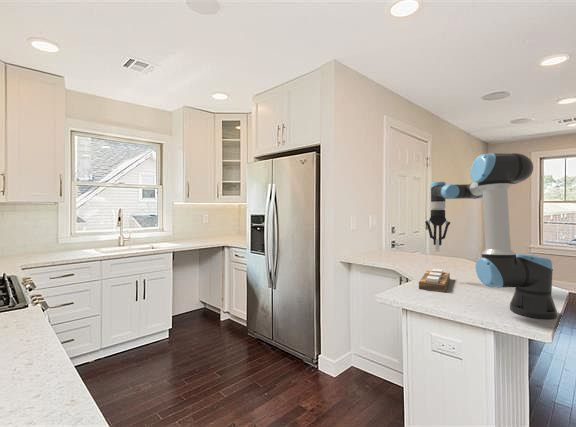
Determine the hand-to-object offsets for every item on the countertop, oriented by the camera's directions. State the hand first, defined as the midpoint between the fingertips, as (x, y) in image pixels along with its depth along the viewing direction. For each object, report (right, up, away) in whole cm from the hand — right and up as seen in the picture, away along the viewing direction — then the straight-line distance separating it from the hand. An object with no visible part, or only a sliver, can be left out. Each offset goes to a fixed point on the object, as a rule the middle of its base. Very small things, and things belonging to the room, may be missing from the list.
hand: (437, 251), depth 182 cm
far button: (0, -14, +1) cm, 14 cm away
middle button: (-5, -14, -8) cm, 17 cm away
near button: (-10, -14, -17) cm, 24 cm away
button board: (-5, -17, -8) cm, 19 cm away
